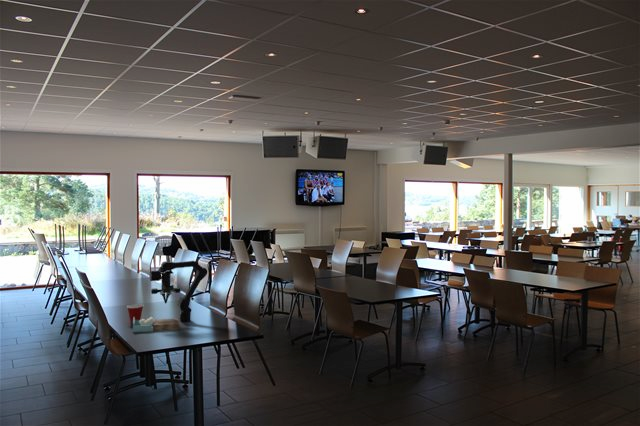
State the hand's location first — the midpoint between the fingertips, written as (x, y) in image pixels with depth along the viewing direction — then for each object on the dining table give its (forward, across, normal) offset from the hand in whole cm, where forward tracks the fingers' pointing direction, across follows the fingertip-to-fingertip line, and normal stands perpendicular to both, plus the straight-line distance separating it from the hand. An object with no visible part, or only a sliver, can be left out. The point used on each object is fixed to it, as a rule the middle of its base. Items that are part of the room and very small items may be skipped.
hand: (165, 303), depth 359 cm
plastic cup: (+13, -19, +4) cm, 24 cm away
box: (+13, -16, -15) cm, 25 cm away
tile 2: (+10, -11, -15) cm, 21 cm away
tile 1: (+9, -14, -15) cm, 22 cm away
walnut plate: (+13, -2, -16) cm, 20 cm away
